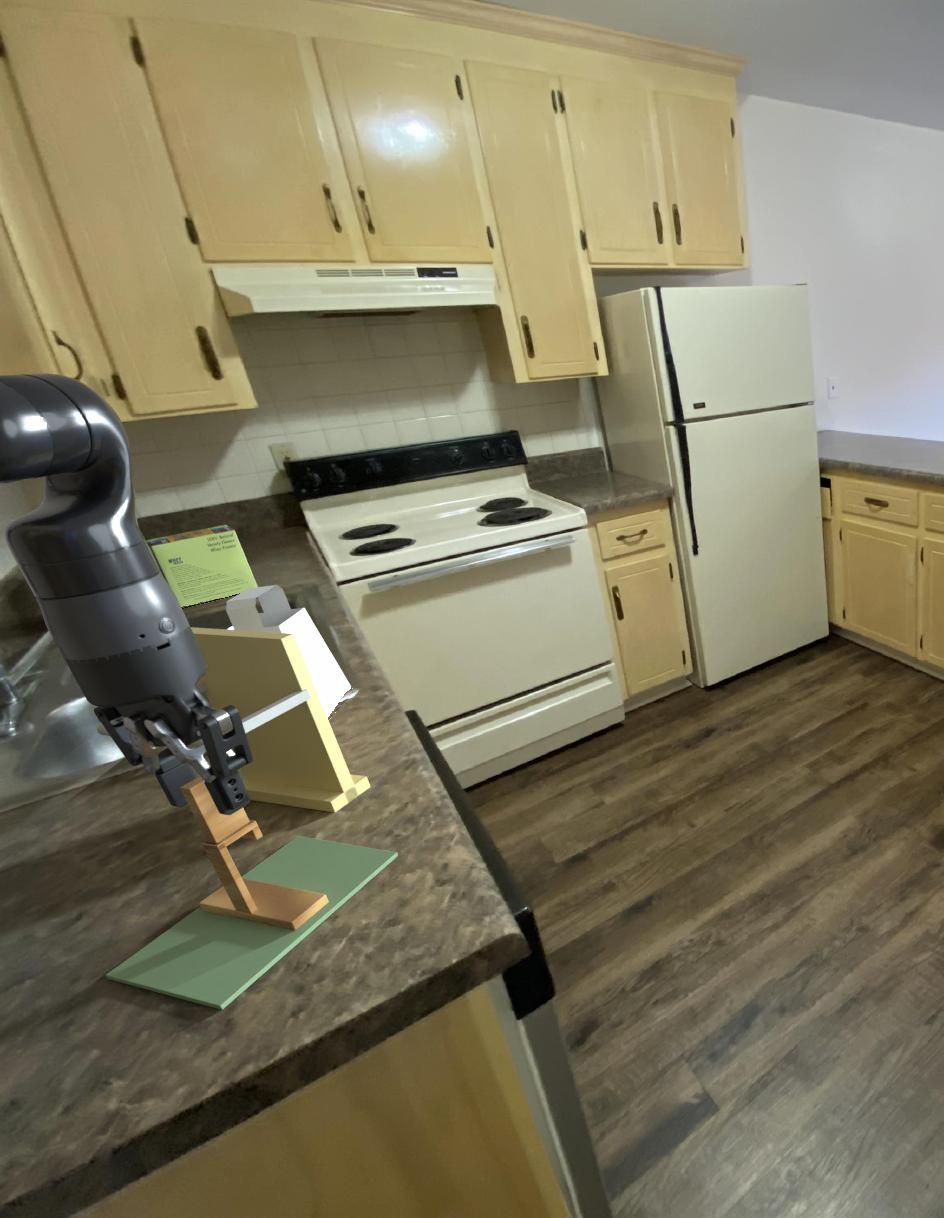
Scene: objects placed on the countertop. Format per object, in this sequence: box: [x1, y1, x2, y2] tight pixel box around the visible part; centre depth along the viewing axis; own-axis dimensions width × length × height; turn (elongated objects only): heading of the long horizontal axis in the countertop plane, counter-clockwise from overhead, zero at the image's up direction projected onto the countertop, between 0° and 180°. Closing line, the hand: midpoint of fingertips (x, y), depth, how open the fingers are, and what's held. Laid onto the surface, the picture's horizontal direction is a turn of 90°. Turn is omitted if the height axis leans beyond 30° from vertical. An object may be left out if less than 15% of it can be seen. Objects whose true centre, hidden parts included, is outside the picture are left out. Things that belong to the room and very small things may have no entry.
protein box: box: [145, 524, 259, 607], centre depth 159 cm, size 10×15×16 cm
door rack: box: [96, 626, 371, 814], centre depth 75 cm, size 13×17×22 cm
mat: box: [105, 835, 399, 1011], centre depth 65 cm, size 14×18×1 cm
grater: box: [225, 584, 352, 718], centre depth 99 cm, size 10×10×20 cm
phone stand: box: [180, 775, 329, 930], centre depth 62 cm, size 4×12×15 cm, turn 75°
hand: (212, 804), depth 60 cm, fingers open, 5 cm apart
